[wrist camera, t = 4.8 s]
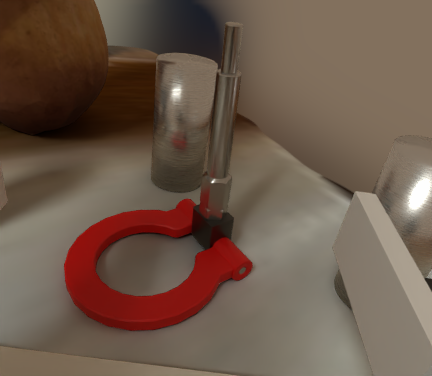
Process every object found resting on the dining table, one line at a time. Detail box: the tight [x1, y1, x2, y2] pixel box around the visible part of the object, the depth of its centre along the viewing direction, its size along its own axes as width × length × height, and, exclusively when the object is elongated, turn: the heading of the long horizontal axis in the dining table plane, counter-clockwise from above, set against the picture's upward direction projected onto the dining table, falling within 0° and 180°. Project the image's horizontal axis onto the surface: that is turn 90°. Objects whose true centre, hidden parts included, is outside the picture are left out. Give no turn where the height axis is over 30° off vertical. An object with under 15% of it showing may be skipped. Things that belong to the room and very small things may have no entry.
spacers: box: [151, 53, 432, 309], centre depth 19 cm, size 23×20×9 cm
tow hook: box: [64, 22, 253, 331], centre depth 18 cm, size 8×13×9 cm
